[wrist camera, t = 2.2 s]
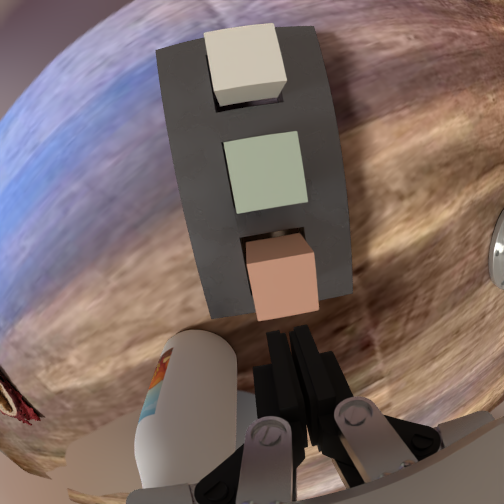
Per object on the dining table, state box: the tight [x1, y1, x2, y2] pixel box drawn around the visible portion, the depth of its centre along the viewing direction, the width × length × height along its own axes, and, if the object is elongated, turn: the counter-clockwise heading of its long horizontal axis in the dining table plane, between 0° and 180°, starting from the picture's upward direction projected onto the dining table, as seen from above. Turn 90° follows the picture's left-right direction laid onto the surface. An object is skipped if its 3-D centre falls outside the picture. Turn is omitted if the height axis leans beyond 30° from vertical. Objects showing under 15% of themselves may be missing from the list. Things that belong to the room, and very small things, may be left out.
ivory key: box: [204, 23, 287, 106], centre depth 14 cm, size 4×4×4 cm
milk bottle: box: [135, 330, 237, 489], centre depth 17 cm, size 8×8×20 cm
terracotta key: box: [246, 233, 319, 321], centre depth 19 cm, size 4×4×4 cm
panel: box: [156, 26, 353, 319], centre depth 20 cm, size 12×22×3 cm, turn 10°
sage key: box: [223, 131, 308, 214], centre depth 17 cm, size 4×4×4 cm
